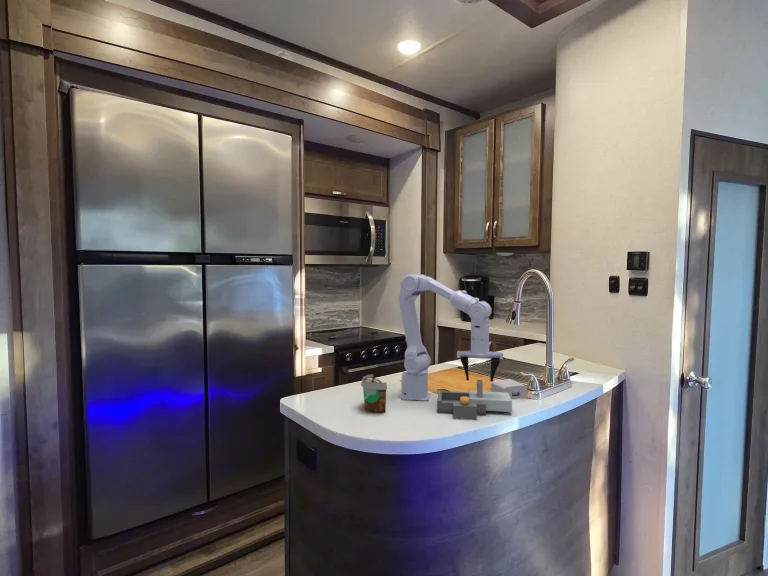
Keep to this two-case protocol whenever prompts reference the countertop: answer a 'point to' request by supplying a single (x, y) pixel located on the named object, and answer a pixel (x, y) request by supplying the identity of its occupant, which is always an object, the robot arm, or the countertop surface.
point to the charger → (509, 388)
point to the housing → (459, 405)
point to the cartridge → (491, 399)
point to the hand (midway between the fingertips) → (479, 380)
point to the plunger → (464, 400)
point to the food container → (374, 394)
